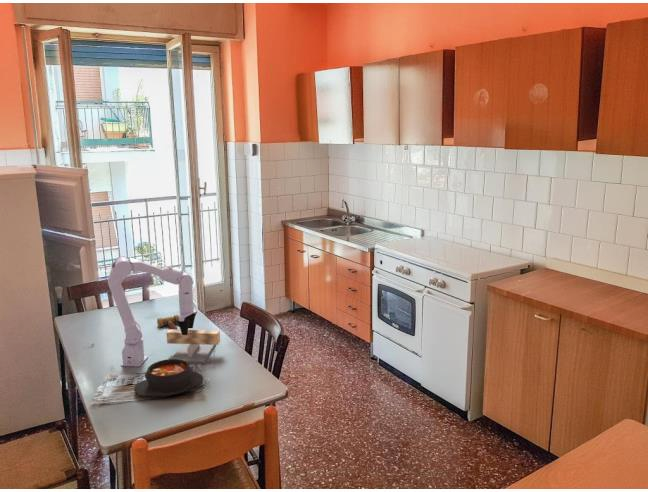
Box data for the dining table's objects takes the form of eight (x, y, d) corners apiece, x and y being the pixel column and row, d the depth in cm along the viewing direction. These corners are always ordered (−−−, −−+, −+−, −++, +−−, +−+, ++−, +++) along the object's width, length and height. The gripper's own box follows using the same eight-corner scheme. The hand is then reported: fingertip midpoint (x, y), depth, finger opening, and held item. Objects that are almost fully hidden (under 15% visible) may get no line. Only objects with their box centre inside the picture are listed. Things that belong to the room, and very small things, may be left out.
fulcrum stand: (203, 363, 222) (203, 352, 220) (170, 362, 222) (169, 351, 221) (215, 344, 241) (215, 334, 240) (185, 343, 242) (184, 333, 241)
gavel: (189, 329, 251) (168, 333, 246) (190, 338, 252) (168, 342, 247) (177, 313, 268) (156, 316, 263) (177, 322, 269) (157, 325, 264)
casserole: (196, 371, 215) (195, 351, 213) (209, 391, 199) (208, 370, 197) (131, 384, 204) (129, 364, 202) (138, 407, 188) (137, 384, 186)
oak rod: (167, 343, 229) (166, 332, 228) (169, 340, 233) (169, 329, 232) (218, 344, 228) (217, 333, 227) (220, 341, 232) (219, 330, 231)
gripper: (190, 306, 220) (191, 338, 223) (200, 295, 234) (201, 325, 237) (173, 306, 220) (174, 337, 223) (184, 295, 235) (185, 325, 238)
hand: (187, 331), depth 230 cm, fingers open, 7 cm apart
